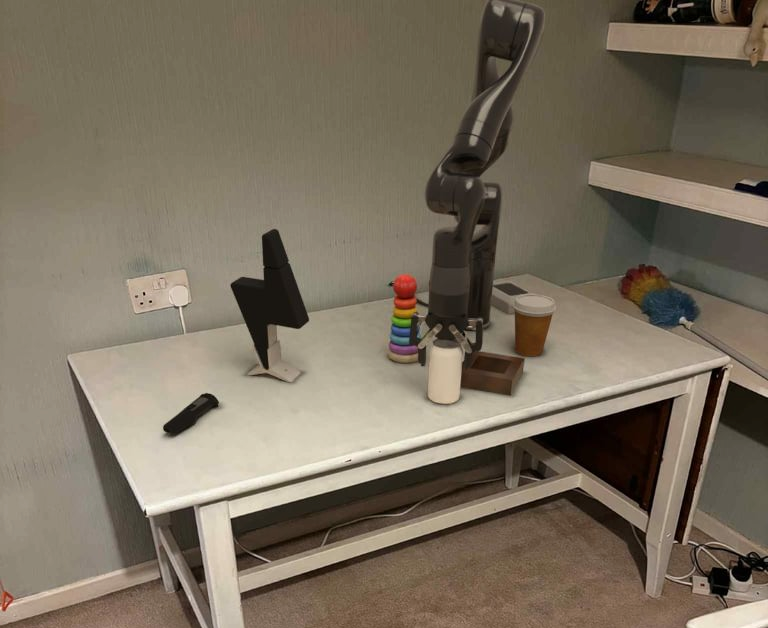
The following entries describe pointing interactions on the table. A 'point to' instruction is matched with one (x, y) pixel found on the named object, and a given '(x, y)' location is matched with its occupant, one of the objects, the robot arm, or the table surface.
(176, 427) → the electric trimmer
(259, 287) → the award
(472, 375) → the can stand
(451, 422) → the table surface
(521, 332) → the disposable coffee cup
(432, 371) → the can
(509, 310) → the keypad
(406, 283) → the stacking toy
